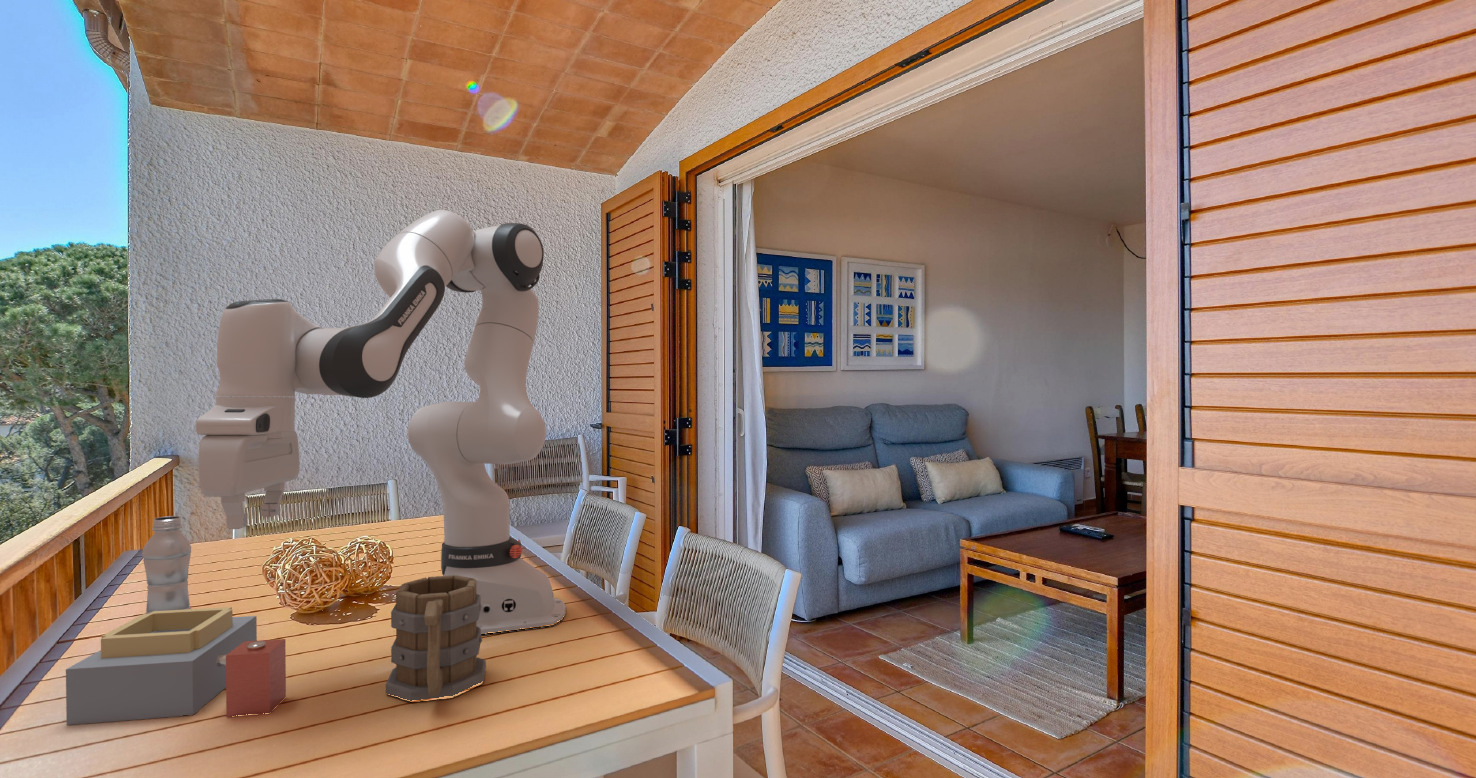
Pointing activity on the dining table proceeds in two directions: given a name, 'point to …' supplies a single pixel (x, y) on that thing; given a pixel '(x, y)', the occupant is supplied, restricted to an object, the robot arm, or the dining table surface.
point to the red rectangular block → (254, 677)
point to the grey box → (156, 666)
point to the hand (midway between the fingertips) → (254, 522)
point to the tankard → (436, 638)
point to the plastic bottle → (167, 566)
